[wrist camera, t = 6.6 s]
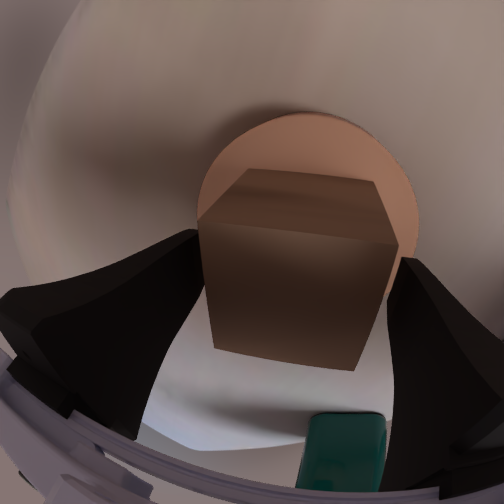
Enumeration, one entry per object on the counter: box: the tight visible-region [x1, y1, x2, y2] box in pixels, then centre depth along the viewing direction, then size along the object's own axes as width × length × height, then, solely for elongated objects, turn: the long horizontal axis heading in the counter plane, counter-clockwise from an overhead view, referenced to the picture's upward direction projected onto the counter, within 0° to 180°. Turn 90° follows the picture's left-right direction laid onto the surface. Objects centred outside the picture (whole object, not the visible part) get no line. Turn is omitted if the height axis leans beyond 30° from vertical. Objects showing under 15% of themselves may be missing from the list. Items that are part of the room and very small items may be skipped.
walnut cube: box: [197, 168, 399, 371], centre depth 10 cm, size 5×5×5 cm
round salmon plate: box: [197, 112, 419, 297], centre depth 14 cm, size 10×10×4 cm
